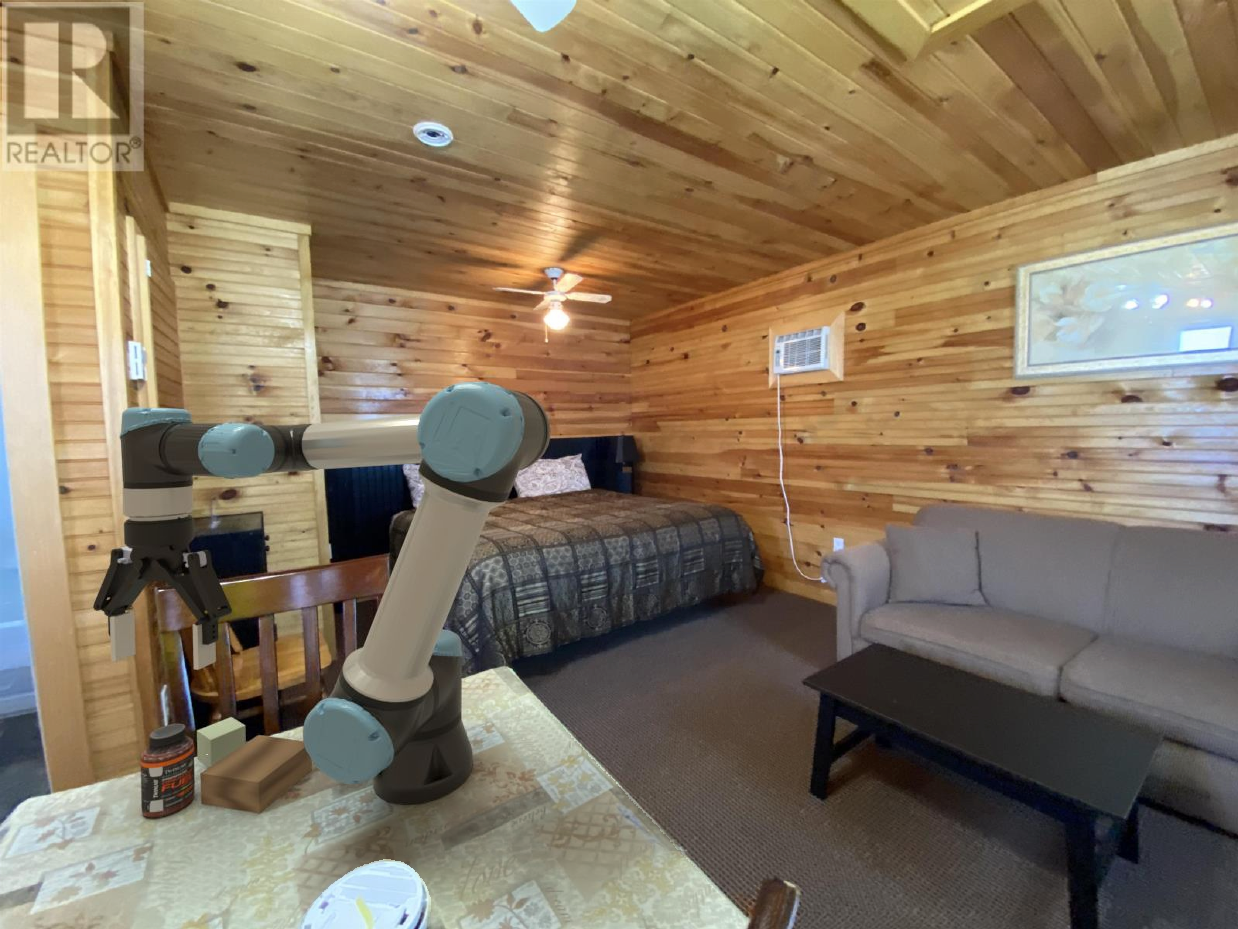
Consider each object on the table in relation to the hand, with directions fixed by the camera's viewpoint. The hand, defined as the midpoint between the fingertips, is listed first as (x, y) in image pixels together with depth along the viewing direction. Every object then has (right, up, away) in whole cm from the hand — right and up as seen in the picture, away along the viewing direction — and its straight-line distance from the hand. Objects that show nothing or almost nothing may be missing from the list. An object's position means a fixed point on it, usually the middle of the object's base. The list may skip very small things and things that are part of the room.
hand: (163, 661), depth 75 cm
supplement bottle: (0, -22, +1) cm, 22 cm away
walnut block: (+10, -22, +6) cm, 25 cm away
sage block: (-1, -21, +13) cm, 25 cm away
